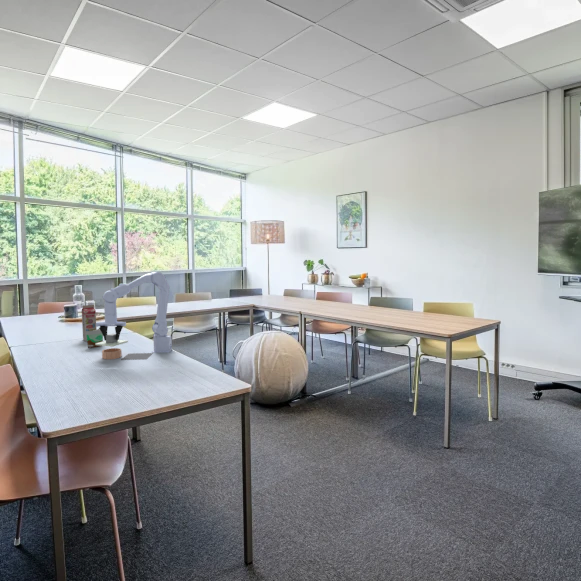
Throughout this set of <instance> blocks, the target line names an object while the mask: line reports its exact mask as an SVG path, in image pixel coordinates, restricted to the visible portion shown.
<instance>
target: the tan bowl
mask: <svg viewBox="0 0 581 581" xmlns="http://www.w3.org/2000/svg"><path fill="white" fill-rule="evenodd" d="M122 356H123V355H122V349H121V348H118V347H114V348H112V347H111V348H105V349H103V350H102V351H101V357H102V359H103V360H115V359H119V358H121V357H122Z"/></svg>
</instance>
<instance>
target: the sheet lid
mask: <svg viewBox="0 0 581 581" xmlns="http://www.w3.org/2000/svg"><path fill="white" fill-rule="evenodd" d="M126 343H129V340H125V339H119V340H116V333H107V335H106V340H103V342H99V343H95V345H100V346H101V347H111V348H112V347H117V346H119V345H123V344H126Z"/></svg>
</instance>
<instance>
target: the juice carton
mask: <svg viewBox="0 0 581 581" xmlns="http://www.w3.org/2000/svg"><path fill="white" fill-rule="evenodd" d="M81 307H82V308H81V323H82V324H81V326H82V340H83V341H84V342H87V335H86V331H92V330H97V327H96V323H97V313H96V311H97V310H96V309H95V304H87V305H86V304H85V305H82V306H81Z"/></svg>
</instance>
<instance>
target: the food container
mask: <svg viewBox="0 0 581 581" xmlns="http://www.w3.org/2000/svg"><path fill="white" fill-rule="evenodd" d="M86 335H87V341H86V342H87V348H88V349H92V348H93V349H94V348H101V347H102V346H100V345H95V343H99V342H103V341H104V336H103V334H102V332H101V331H100V329H99V328H98V329H97V328H96V330H92V331H86Z"/></svg>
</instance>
